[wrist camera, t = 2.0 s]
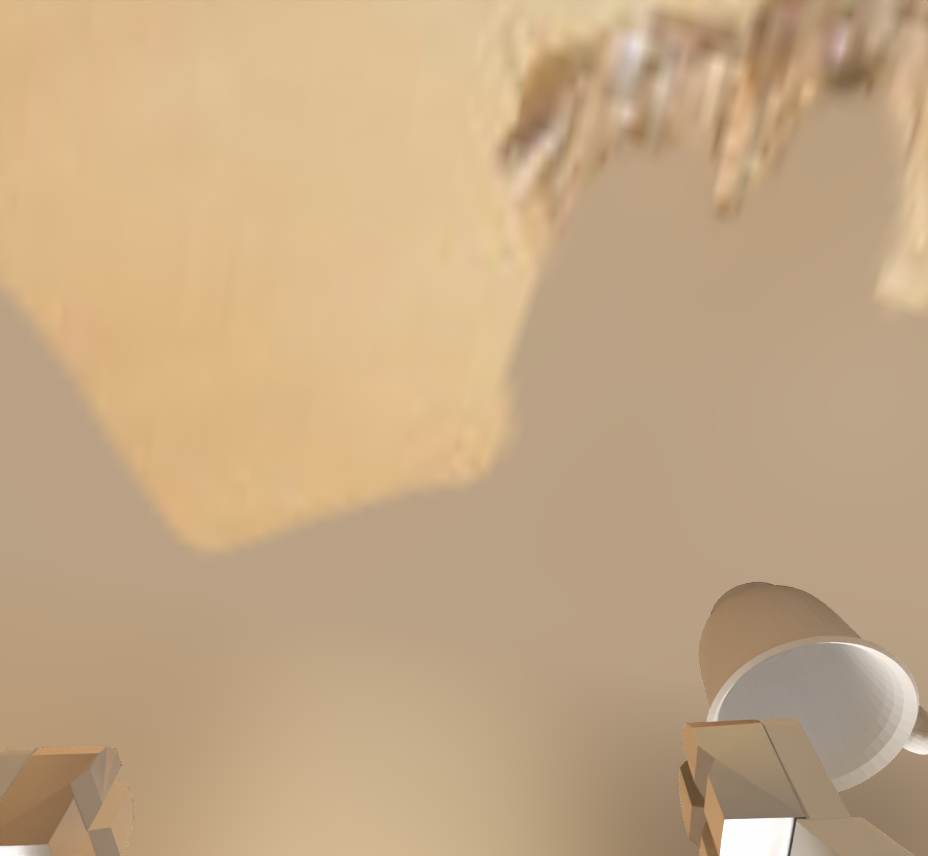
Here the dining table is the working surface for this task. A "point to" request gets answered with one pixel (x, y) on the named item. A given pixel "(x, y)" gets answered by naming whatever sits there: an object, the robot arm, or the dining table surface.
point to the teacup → (810, 679)
